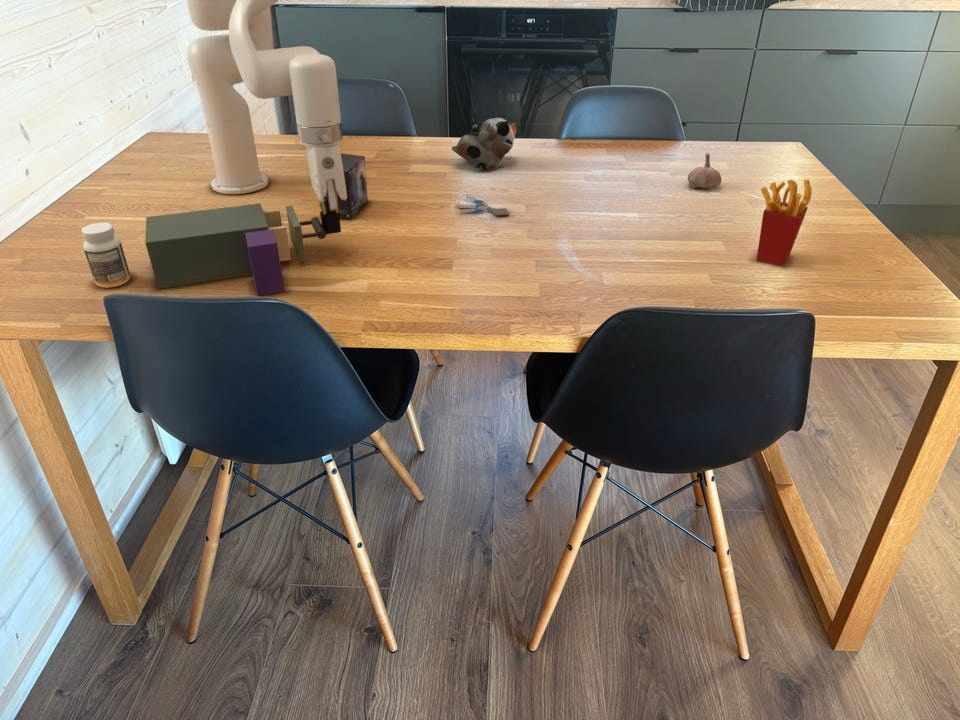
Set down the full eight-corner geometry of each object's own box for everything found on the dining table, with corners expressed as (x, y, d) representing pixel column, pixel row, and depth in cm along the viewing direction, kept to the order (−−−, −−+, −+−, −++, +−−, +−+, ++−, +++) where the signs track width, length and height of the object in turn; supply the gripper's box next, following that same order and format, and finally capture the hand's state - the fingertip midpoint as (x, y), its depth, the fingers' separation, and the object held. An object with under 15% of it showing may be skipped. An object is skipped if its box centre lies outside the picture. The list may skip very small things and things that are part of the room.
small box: (353, 220, 145) (348, 170, 139) (323, 217, 146) (317, 168, 140) (369, 202, 153) (366, 154, 148) (341, 199, 154) (336, 152, 149)
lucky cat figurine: (470, 151, 183) (497, 103, 177) (505, 178, 181) (533, 130, 174) (442, 149, 171) (469, 97, 164) (478, 178, 168) (508, 126, 162)
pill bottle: (102, 274, 123) (85, 221, 118) (136, 273, 124) (120, 220, 118) (90, 289, 119) (71, 235, 113) (125, 288, 119) (108, 234, 114)
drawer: (319, 235, 136) (315, 202, 132) (330, 257, 128) (326, 222, 124) (195, 252, 129) (187, 218, 125) (198, 276, 121) (189, 240, 117)
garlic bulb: (684, 189, 162) (690, 155, 157) (688, 179, 167) (694, 146, 163) (718, 194, 159) (725, 159, 155) (721, 184, 165) (728, 150, 161)
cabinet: (267, 246, 134) (260, 203, 129) (275, 271, 125) (268, 226, 120) (158, 261, 128) (146, 216, 123) (158, 289, 119) (145, 242, 114)
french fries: (787, 270, 127) (809, 190, 119) (741, 259, 131) (760, 181, 122) (797, 252, 133) (819, 176, 125) (753, 242, 137) (772, 167, 129)
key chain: (514, 213, 148) (514, 209, 148) (488, 224, 143) (488, 220, 143) (467, 196, 156) (467, 193, 156) (440, 206, 151) (440, 203, 151)
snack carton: (253, 280, 122) (244, 232, 117) (280, 276, 123) (272, 229, 118) (257, 296, 117) (248, 246, 112) (285, 291, 119) (276, 242, 114)
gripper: (351, 142, 116) (360, 244, 126) (333, 119, 128) (343, 215, 138) (305, 147, 114) (319, 250, 124) (291, 123, 125) (304, 220, 135)
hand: (331, 231), depth 131 cm, fingers closed
